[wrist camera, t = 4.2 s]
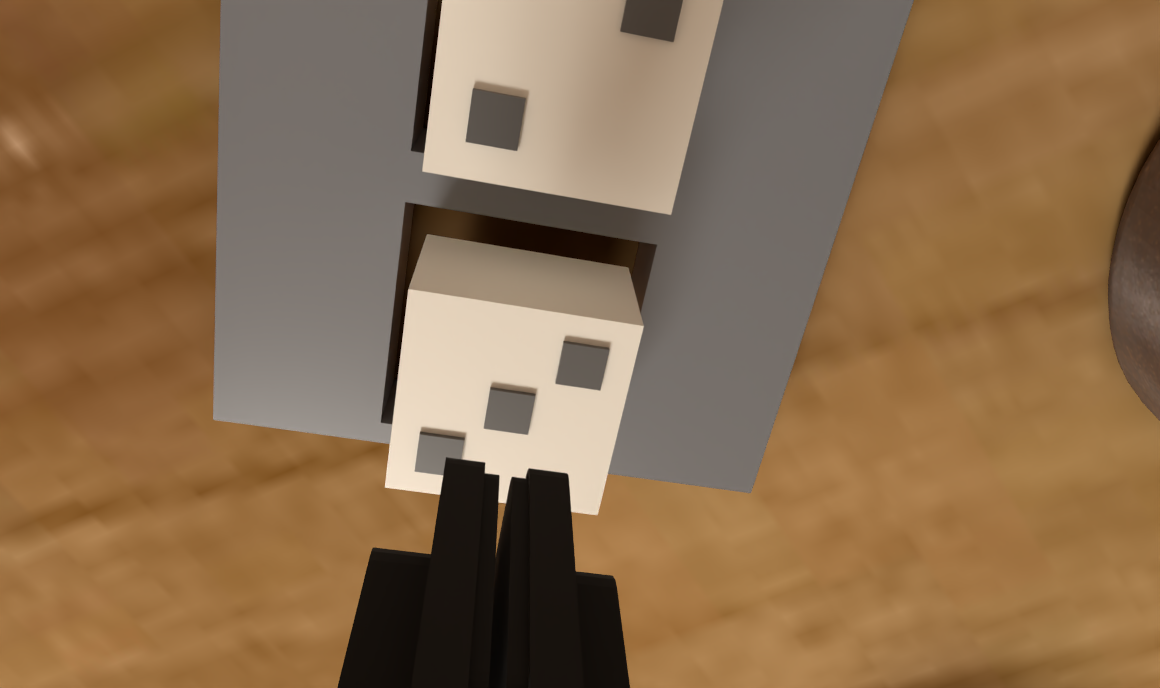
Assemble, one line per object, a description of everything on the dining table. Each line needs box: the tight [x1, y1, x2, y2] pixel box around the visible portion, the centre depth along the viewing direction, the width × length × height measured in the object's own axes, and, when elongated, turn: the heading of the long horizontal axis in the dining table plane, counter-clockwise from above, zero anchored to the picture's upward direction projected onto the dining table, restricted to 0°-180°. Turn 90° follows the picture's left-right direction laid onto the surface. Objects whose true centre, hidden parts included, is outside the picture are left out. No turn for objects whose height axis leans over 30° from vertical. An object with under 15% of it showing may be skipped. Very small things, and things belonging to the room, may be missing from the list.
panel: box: [213, 0, 914, 493], centre depth 17 cm, size 12×18×2 cm, turn 169°
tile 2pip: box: [422, 0, 724, 215], centre depth 14 cm, size 4×4×3 cm
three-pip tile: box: [385, 234, 644, 515], centre depth 17 cm, size 4×4×3 cm
